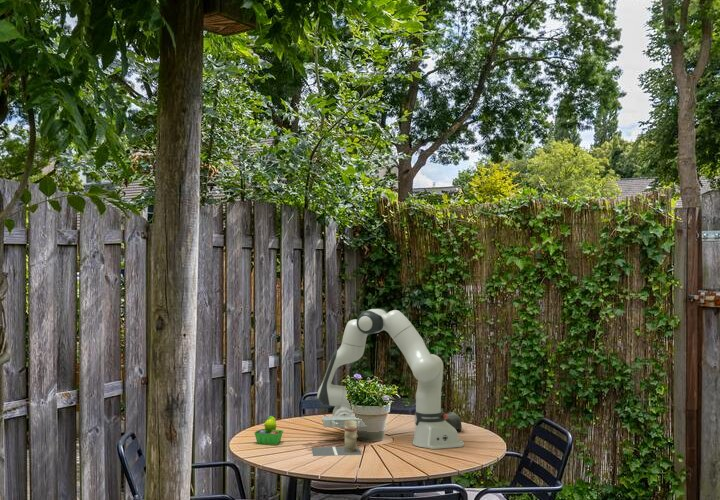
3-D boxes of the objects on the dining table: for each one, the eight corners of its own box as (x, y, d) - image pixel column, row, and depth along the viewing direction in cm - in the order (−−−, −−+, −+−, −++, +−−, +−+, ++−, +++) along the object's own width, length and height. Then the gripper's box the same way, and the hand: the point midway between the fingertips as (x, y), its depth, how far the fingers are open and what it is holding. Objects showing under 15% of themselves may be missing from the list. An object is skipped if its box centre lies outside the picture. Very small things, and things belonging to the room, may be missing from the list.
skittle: (356, 449, 272) (356, 420, 273) (357, 452, 267) (357, 422, 268) (343, 449, 271) (343, 420, 272) (344, 452, 266) (345, 422, 267)
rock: (431, 426, 324) (431, 410, 325) (452, 425, 326) (452, 409, 326) (440, 434, 306) (440, 417, 306) (463, 433, 308) (463, 417, 308)
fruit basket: (253, 444, 284) (253, 418, 285) (261, 439, 292) (261, 414, 293) (277, 446, 281) (277, 419, 282) (284, 441, 290) (285, 415, 290)
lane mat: (358, 448, 277) (358, 446, 277) (362, 457, 263) (362, 454, 263) (311, 450, 274) (311, 447, 274) (312, 458, 260) (313, 455, 260)
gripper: (321, 411, 294) (323, 418, 281) (365, 411, 297) (369, 417, 283) (320, 425, 294) (323, 432, 280) (365, 425, 297) (369, 432, 283)
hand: (346, 425), depth 282 cm, fingers open, 8 cm apart
